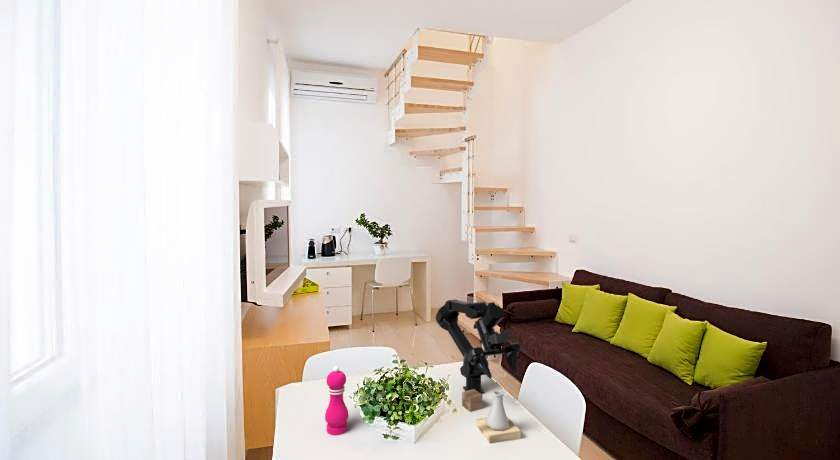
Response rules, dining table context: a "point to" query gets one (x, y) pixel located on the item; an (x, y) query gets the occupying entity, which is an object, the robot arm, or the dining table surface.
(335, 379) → the pepper mill
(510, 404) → the dining table surface
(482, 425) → the oak block
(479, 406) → the walnut cube
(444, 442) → the dining table surface
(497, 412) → the flask
